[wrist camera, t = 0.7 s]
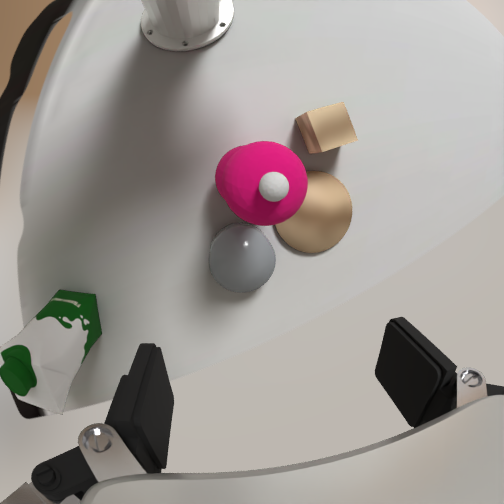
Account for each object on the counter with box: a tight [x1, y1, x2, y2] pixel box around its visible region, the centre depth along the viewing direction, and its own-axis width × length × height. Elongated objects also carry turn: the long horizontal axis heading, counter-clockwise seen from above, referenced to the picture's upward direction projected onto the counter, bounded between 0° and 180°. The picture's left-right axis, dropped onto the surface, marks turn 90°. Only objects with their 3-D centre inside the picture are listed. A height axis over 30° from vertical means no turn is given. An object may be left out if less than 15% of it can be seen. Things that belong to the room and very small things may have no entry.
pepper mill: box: [215, 141, 308, 226], centre depth 25 cm, size 7×7×20 cm
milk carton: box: [0, 290, 102, 415], centre depth 27 cm, size 9×9×20 cm
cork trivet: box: [275, 171, 352, 253], centre depth 36 cm, size 11×11×1 cm
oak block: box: [295, 102, 358, 154], centre depth 31 cm, size 5×5×5 cm
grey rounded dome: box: [209, 223, 276, 292], centre depth 35 cm, size 8×8×4 cm
